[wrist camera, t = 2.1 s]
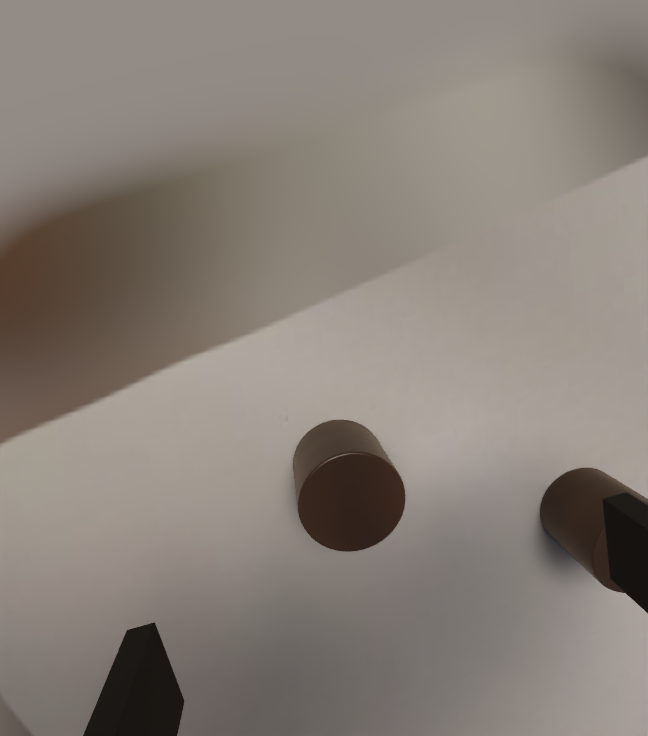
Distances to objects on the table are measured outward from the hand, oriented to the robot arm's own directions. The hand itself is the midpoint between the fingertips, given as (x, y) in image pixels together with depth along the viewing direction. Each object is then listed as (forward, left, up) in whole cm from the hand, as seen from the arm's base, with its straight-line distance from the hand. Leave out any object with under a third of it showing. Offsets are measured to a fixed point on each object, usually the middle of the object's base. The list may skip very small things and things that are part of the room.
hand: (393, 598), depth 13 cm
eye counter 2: (0, 0, -9) cm, 9 cm away
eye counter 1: (+12, -6, -9) cm, 16 cm away
